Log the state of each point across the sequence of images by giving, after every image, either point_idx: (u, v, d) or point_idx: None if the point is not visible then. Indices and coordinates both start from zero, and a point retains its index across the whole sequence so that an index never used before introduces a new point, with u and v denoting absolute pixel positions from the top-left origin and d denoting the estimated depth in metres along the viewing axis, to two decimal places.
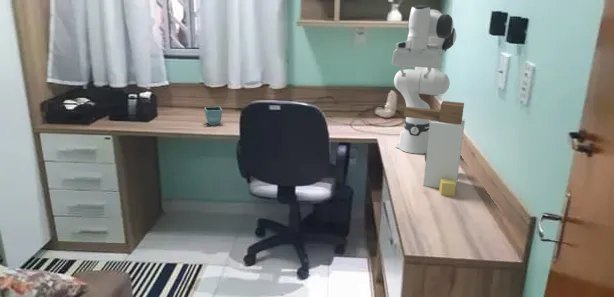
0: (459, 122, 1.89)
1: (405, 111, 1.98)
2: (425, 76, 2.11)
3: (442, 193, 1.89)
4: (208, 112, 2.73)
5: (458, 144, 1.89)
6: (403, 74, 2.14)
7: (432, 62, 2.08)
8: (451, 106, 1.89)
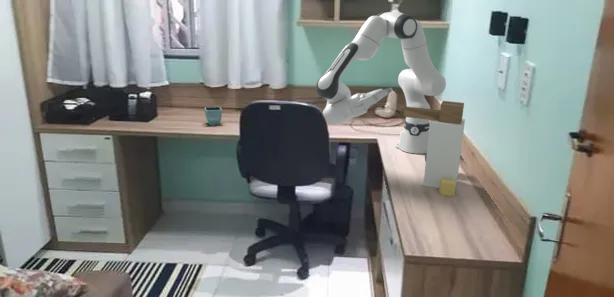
0: (459, 122, 1.89)
1: (405, 111, 1.98)
2: (385, 95, 1.98)
3: (442, 193, 1.89)
4: (208, 112, 2.73)
5: (458, 144, 1.89)
6: None
7: None
8: (451, 106, 1.89)
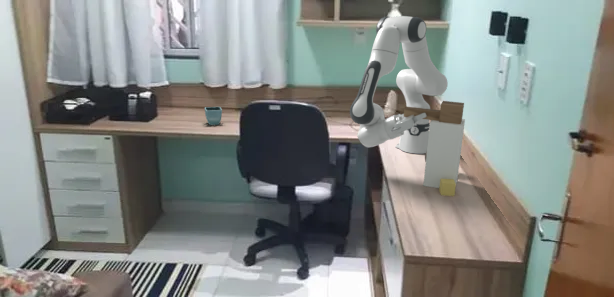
0: (459, 122, 1.89)
1: (405, 111, 1.98)
2: (424, 117, 1.95)
3: (442, 193, 1.89)
4: (208, 112, 2.73)
5: (458, 144, 1.89)
6: None
7: None
8: (451, 106, 1.89)
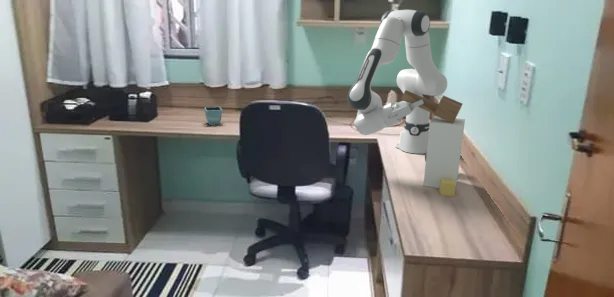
0: (452, 121, 1.90)
1: (404, 95, 1.96)
2: None
3: (442, 193, 1.89)
4: (208, 112, 2.73)
5: (458, 144, 1.89)
6: None
7: None
8: (450, 103, 1.89)
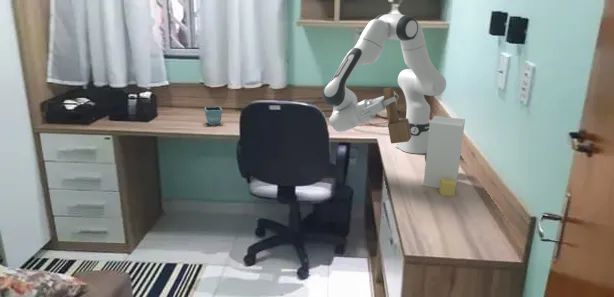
0: (392, 142, 2.01)
1: (388, 89, 1.98)
2: None
3: (442, 193, 1.89)
4: (208, 112, 2.73)
5: (458, 144, 1.89)
6: None
7: None
8: (405, 132, 1.98)
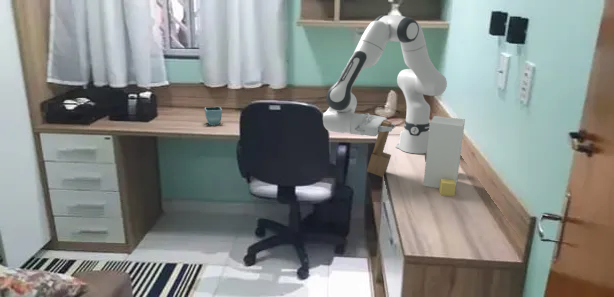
0: (368, 170, 2.08)
1: (386, 124, 2.02)
2: None
3: (442, 193, 1.89)
4: (208, 112, 2.73)
5: (458, 144, 1.89)
6: None
7: None
8: (383, 167, 2.05)
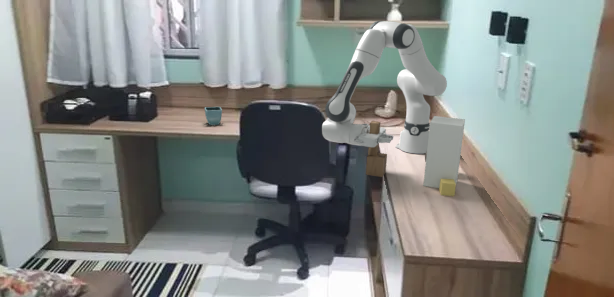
0: (367, 173, 2.09)
1: (375, 124, 2.04)
2: None
3: (442, 193, 1.89)
4: (208, 112, 2.73)
5: (458, 144, 1.89)
6: None
7: None
8: (381, 167, 2.06)
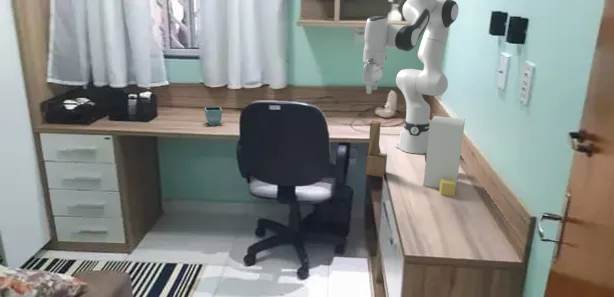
0: (367, 173, 2.09)
1: (375, 124, 2.04)
2: None
3: (442, 193, 1.89)
4: (208, 112, 2.73)
5: (458, 144, 1.89)
6: None
7: None
8: (381, 167, 2.06)
